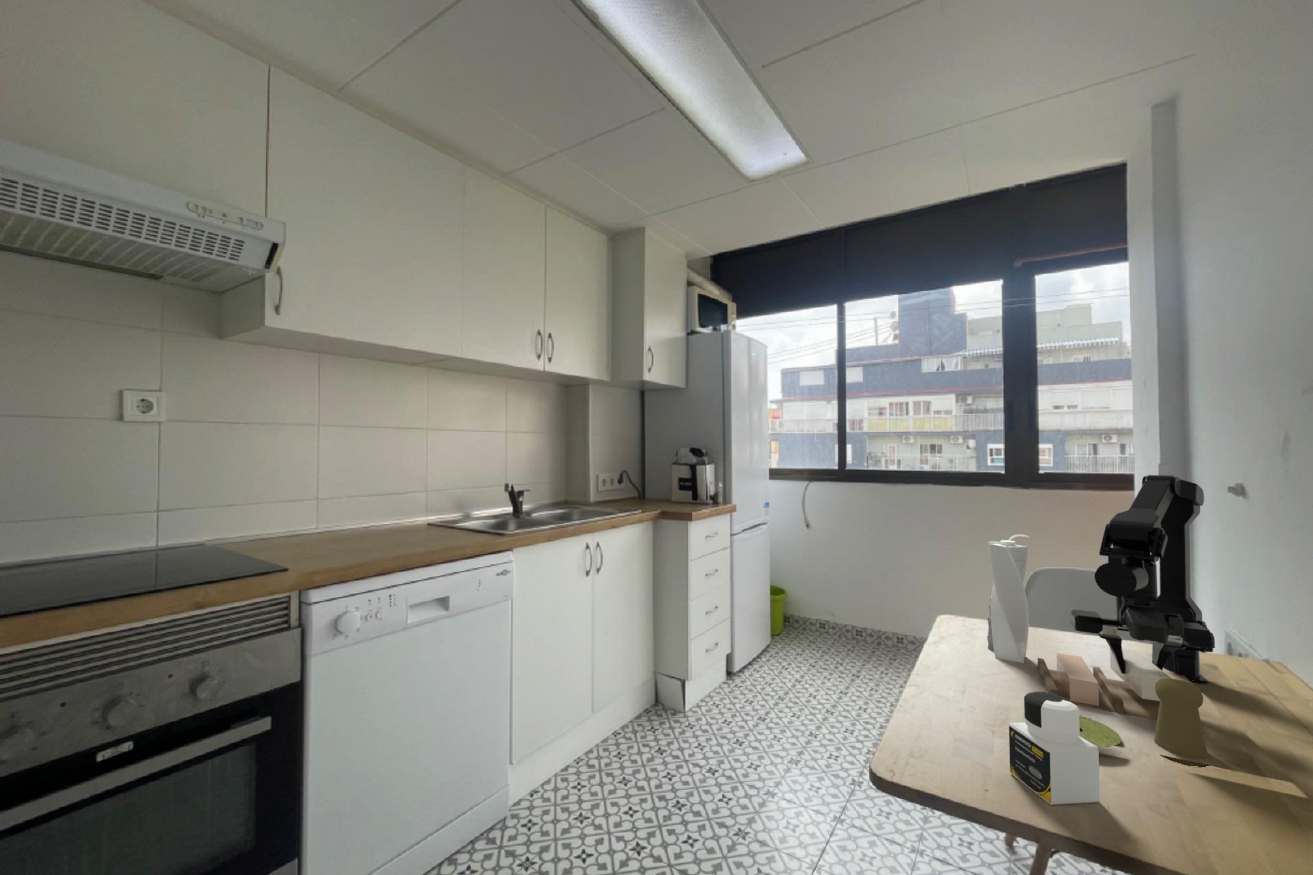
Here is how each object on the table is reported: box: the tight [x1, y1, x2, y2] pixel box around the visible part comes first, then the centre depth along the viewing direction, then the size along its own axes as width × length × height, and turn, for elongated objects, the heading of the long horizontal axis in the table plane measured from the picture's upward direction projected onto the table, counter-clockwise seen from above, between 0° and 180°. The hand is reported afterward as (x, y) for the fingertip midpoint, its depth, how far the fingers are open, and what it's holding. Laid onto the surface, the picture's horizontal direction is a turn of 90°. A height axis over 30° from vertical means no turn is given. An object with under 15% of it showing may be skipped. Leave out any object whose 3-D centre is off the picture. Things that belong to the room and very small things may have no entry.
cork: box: [1153, 677, 1210, 768], centre depth 80 cm, size 6×6×11 cm
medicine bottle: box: [1008, 691, 1101, 806], centre depth 72 cm, size 7×7×12 cm
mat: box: [1079, 714, 1122, 748], centre depth 84 cm, size 11×11×2 cm
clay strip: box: [1109, 648, 1173, 701], centre depth 95 cm, size 14×4×4 cm, turn 156°
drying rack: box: [1037, 657, 1160, 721], centre depth 98 cm, size 17×19×3 cm
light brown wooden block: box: [1056, 652, 1099, 706], centre depth 100 cm, size 14×4×4 cm, turn 151°
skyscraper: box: [986, 534, 1031, 664], centre depth 116 cm, size 8×8×28 cm
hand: (1138, 675), depth 95 cm, fingers closed on clay strip, 4 cm apart
